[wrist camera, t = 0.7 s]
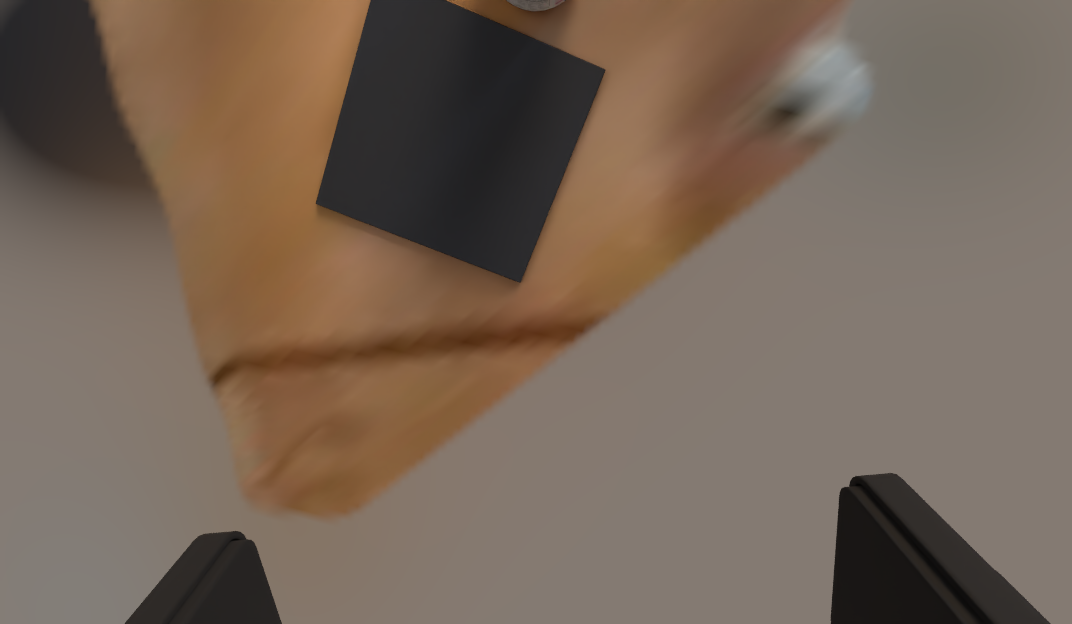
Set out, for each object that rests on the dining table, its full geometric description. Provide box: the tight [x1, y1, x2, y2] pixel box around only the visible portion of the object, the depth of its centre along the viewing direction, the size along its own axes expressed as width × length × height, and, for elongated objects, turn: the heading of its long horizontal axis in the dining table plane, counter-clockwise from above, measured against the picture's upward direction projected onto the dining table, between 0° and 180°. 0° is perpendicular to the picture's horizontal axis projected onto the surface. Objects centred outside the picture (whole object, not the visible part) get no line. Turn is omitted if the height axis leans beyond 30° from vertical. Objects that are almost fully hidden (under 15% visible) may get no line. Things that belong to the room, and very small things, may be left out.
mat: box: [316, 0, 605, 282], centre depth 35 cm, size 14×14×1 cm
